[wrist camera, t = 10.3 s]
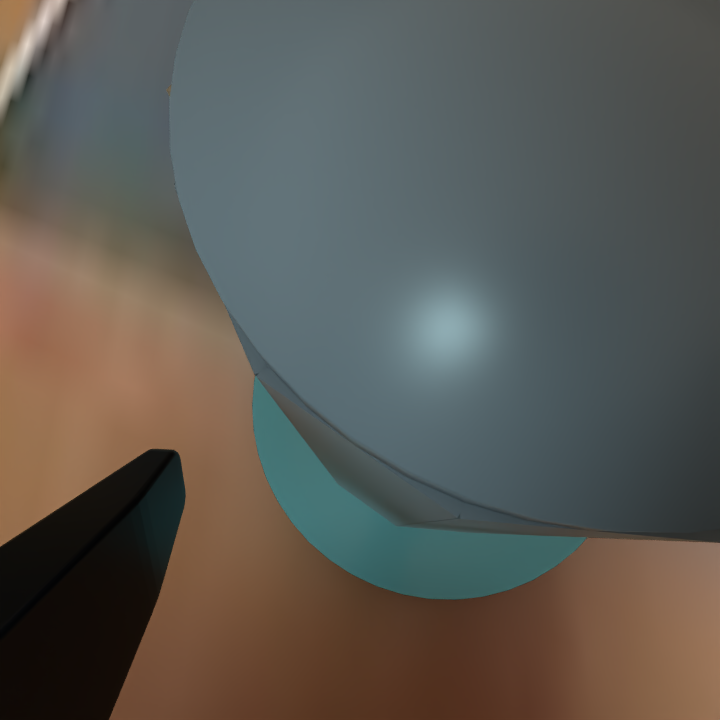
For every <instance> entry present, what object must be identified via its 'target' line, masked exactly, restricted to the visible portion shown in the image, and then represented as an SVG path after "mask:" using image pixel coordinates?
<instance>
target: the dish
mask: <svg viewBox="0 0 720 720" xmlns="http://www.w3.org/2000/svg"><path fill="white" fill-rule="evenodd" d="M252 408H253V427H254V434H255V439H256V445H257V450H258V455H259V458H260V461H261V464H262V467H263V470H264V473H265V476H266V478H267V481H268V483H269V485H270V487H271V489H272V491H273V493H274V495H275V497H276V499H277V501H278V502H279V504H280V505H281V507H282V508H283V510H284V511H285V513H286V514H287V516H288V517H289V519H290V520H291V522H292V523H293V524H294V525H295V527H296V528H297V529H298V530H299V531H300V532H301V533H302V535H303V536H304V537H305V538H306V539H307V540H308V541H309V542H310V543H311V544H312V545H313V546H314V547H315V548H317V549H318V550H319V551H320V552H321V553H322V554H323V555H325V556H326V557H327V558H328V559H329V560H331V561H332V562H334V563H335V564H337V565H338V566H340V567H341V568H343V569H344V570H346V571H347V572H349V573H351V574H352V575H354V576H356V577H358V578H361V579H363V580H365V581H367V582H369V583H371V584H373V585H375V586H378V587H381V588H384V589H387V590H390V591H394V592H397V593H400V594H404V595H410V596H416V597H421V598H427V599H452V600H457V599H466V598H475V597H484V596H488V595H491V594H495V593H499V592H503V591H507V590H510V589H512V588H515V587H517V586H520V585H522V584H524V583H527V582H529V581H532V580H534V579H536V578H537V577H539V576H541V575H542V574H544V573H546V572H547V571H549V570H550V569H552V568H554V567H555V566H557V565H558V564H559V563H561V562H562V561H563V560H564V559H565V558H567V557H568V556H569V555H570V554H572V553H573V552H574V551H575V550H576V549H577V548H578V547H579V546H580V545H581V544H582V543H583V542H584V541H585V539H586V538H587V537H562V536H537V535H511V534H486V533H465V532H454V531H443V530H432V529H421V528H411V527H400V526H395V525H394V524H392V523H391V522H390V521H388V520H387V519H385V518H384V517H383V516H381V515H380V514H378V513H377V512H376V511H374V510H373V509H372V508H370V507H369V506H367V505H366V504H365V503H363V502H362V501H360V500H359V499H358V498H356V497H355V496H354V495H352V494H351V493H349V492H348V491H347V490H345V489H344V488H342V487H341V486H340V485H338V484H337V482H336V481H335V480H334V478H333V477H332V476H331V475H330V473H329V472H328V471H327V469H326V468H325V467H324V465H323V464H322V463H321V461H320V460H319V459H318V457H317V456H316V455H315V453H314V452H313V451H312V449H311V448H310V447H309V446H308V444H307V443H306V442H305V440H304V439H303V438H302V436H301V435H300V434H299V432H298V431H297V430H296V428H295V427H294V426H293V424H292V423H291V422H290V420H289V419H288V418H287V417H286V415H285V414H284V413H283V411H282V410H281V409H280V407H279V406H278V405H277V403H276V402H275V401H274V399H273V398H272V397H271V395H270V394H269V393H268V392H267V390H266V389H265V388H264V386H263V385H262V384H261V382H260V381H259V380H258V378H257V377H256V376H255V380H254V391H253V403H252Z"/></svg>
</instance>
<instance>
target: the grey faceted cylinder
mask: <svg viewBox="0 0 720 720" xmlns="http://www.w3.org/2000/svg"><path fill="white" fill-rule="evenodd" d="M169 118H170V152H171V158H172V163H173V169H174V175H175V184H174V185H175V189H176V192H177V194H178V198H179V201H180V204H181V207H182V210H183V213H184V216H185V219H186V222H187V225H188V228H189V231H190V234H191V237H192V240H193V243H194V246H195V249H196V251H197V253H198V255H199V257H200V258H201V260H202V262H203V264H204V266H205V268H206V270H207V272H208V274H209V276H210V278H211V280H212V282H213V284H214V286H215V288H216V290H217V292H218V293H219V295H220V297H221V299H222V301H223V302H224V304H225V306H226V309H227V311H228V313H229V316H230V318H231V320H232V323H233V325H234V327H235V330H236V332H237V334H238V337H239V339H240V342H241V344H242V346H243V349H244V351H245V353H246V356H247V358H248V360H249V363H250V365H251V367H252V370H253V372H254V374H255V376H256V377H257V378H258V380H259V381H260V382H261V384H262V385H263V386H264V388H265V389H266V390H267V392H268V393H269V394H270V395H271V397H272V398H273V399H274V401H275V402H276V403H277V405H278V406H279V407H280V409H281V410H282V411H283V413H284V414H285V415H286V417H287V418H288V419H289V420H290V422H291V423H292V424H293V426H294V427H295V428H296V430H297V431H298V432H299V434H300V435H301V436H302V438H303V439H304V440H305V442H306V443H307V444H308V446H309V447H310V448H311V449H312V451H313V452H314V453H315V455H316V456H317V457H318V459H319V460H320V461H321V463H322V464H323V465H324V467H325V468H326V469H327V471H328V472H329V473H330V475H331V476H332V477H333V478H334V480H335V481H336V482H337V484H338V485H340V486H341V487H342V488H344V489H345V490H347V491H348V492H349V493H351V494H352V495H354V496H355V497H356V498H358V499H359V500H360V501H362V502H363V503H365V504H366V505H367V506H369V507H370V508H372V509H373V510H374V511H376V512H377V513H378V514H380V515H381V516H383V517H384V518H385V519H387V520H388V521H390V522H391V523H392V524H394V525H395V526H400V527H411V528H421V529H432V530H443V531H454V532H465V533H486V534H511V535H537V536H562V537H587V538H613V539H638V540H664V541H689V542H714V543H720V0H194V1H193V3H192V6H191V8H190V10H189V12H188V15H187V19H186V22H185V25H184V29H183V32H182V35H181V39H180V42H179V45H178V49H177V52H176V56H175V63H174V70H173V77H172V85H171V92H170V99H169Z"/></svg>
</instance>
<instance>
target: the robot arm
mask: <svg viewBox="0 0 720 720" xmlns="http://www.w3.org/2000/svg"><path fill="white" fill-rule="evenodd" d="M185 497H186V494H185V485H184V479H183V472H182V466H181V460H180V456H179V454H178V452H176V451H175V450H169V449H150V450H148V451H146V452H145V453H143V454H142V455H140V456H138V457H137V458H135V459H134V460H132V461H131V462H129V463H128V464H126V465H125V466H123V467H122V468H120V469H119V470H117V471H115V472H114V473H112V474H111V475H109V476H108V477H106V478H105V479H103V480H102V481H100V482H99V483H97V484H96V485H94V486H93V487H91V488H89V489H88V490H86V491H85V492H83V493H82V494H80V495H79V496H77V497H76V498H74V499H73V500H71V501H70V502H68V503H66V504H65V505H63V506H62V507H60V508H59V509H57V510H56V511H54V512H53V513H51V514H50V515H48V516H47V517H45V518H43V519H42V520H40V521H39V522H37V523H36V524H34V525H33V526H31V527H30V528H28V529H27V530H25V531H24V532H22V533H21V534H19V535H17V536H16V537H14V538H13V539H11V540H10V541H8V542H7V543H5V544H4V545H2V546H1V547H0V720H109V718H110V716H111V713H112V711H113V708H114V706H115V703H116V701H117V699H118V696H119V694H120V691H121V689H122V686H123V684H124V681H125V679H126V676H127V674H128V672H129V669H130V667H131V664H132V662H133V659H134V657H135V654H136V652H137V649H138V647H139V644H140V642H141V640H142V637H143V635H144V632H145V630H146V627H147V625H148V622H149V620H150V617H151V615H152V613H153V610H154V607H155V605H156V602H157V599H158V597H159V593H160V590H161V587H162V584H163V580H164V577H165V573H166V570H167V566H168V562H169V559H170V555H171V552H172V548H173V545H174V541H175V537H176V534H177V530H178V527H179V523H180V520H181V516H182V513H183V509H184V505H185Z"/></svg>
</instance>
